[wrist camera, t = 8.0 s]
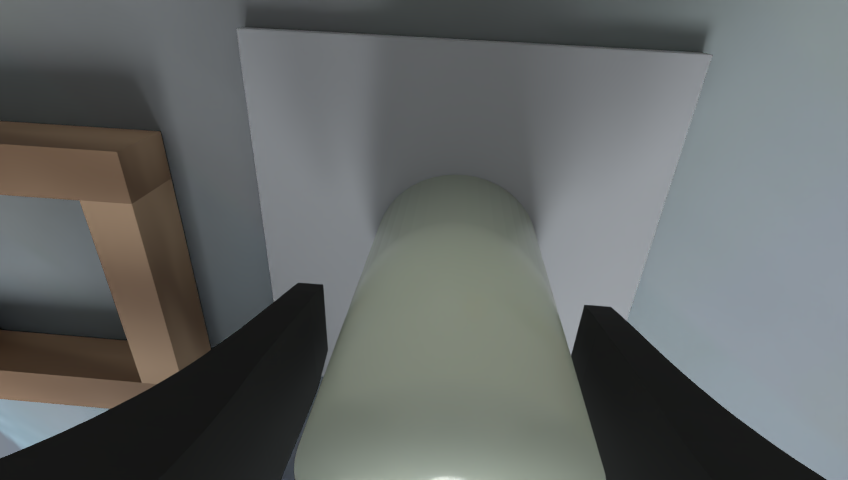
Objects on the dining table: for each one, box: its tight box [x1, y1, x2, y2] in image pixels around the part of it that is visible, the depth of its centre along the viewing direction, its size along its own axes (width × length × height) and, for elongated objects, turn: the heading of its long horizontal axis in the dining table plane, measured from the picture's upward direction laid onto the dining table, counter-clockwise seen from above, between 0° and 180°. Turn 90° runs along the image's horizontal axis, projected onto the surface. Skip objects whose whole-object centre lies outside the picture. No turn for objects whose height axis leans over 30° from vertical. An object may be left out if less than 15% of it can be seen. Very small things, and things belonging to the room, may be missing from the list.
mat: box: [236, 27, 713, 376], centre depth 15 cm, size 12×12×1 cm
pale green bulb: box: [294, 175, 606, 480], centre depth 11 cm, size 5×5×8 cm
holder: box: [0, 121, 211, 409], centre depth 16 cm, size 10×10×2 cm
